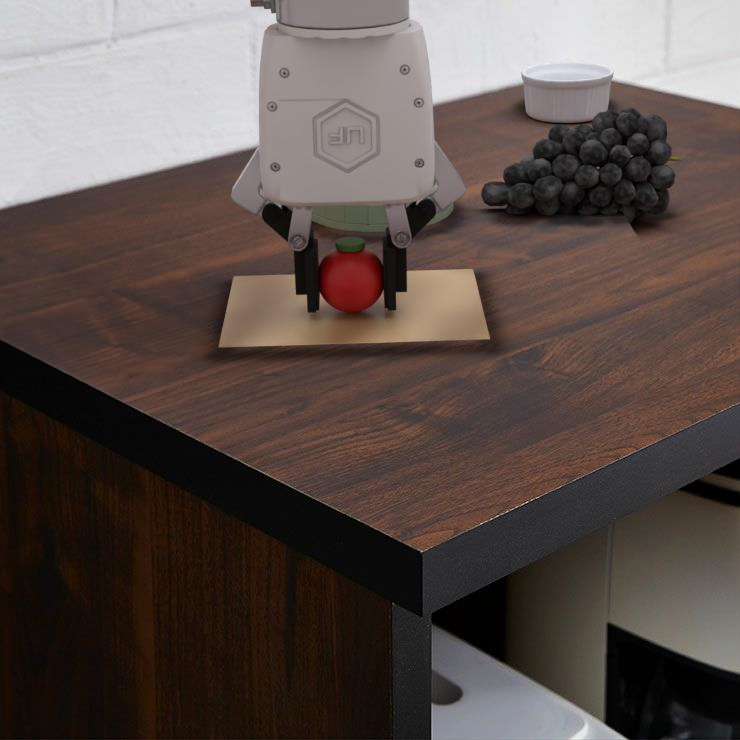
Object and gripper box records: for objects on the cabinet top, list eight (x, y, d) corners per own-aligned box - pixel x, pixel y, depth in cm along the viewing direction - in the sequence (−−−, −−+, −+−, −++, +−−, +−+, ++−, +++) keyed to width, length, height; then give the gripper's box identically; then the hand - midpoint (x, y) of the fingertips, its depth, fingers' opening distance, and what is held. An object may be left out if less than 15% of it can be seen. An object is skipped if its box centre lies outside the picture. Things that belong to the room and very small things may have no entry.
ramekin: (523, 126, 132) (524, 81, 130) (517, 104, 140) (518, 61, 138) (617, 124, 131) (619, 79, 130) (606, 102, 139) (608, 59, 138)
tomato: (317, 324, 84) (314, 253, 82) (318, 298, 88) (316, 231, 86) (386, 322, 84) (385, 251, 82) (385, 297, 88) (383, 229, 86)
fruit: (485, 116, 98) (689, 98, 100) (464, 126, 107) (652, 109, 108) (496, 238, 99) (697, 218, 101) (473, 238, 108) (660, 220, 109)
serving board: (219, 370, 82) (217, 346, 81) (234, 296, 93) (233, 275, 92) (490, 361, 82) (490, 338, 81) (473, 289, 93) (473, 268, 92)
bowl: (303, 253, 100) (301, 206, 99) (307, 206, 111) (305, 163, 109) (458, 248, 100) (458, 202, 99) (447, 202, 111) (447, 159, 109)
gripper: (186, 17, 75) (210, 330, 82) (497, 9, 75) (493, 323, 82) (200, -6, 81) (221, 285, 89) (485, -13, 81) (482, 278, 89)
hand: (351, 300), depth 85 cm, fingers closed on tomato, 4 cm apart
